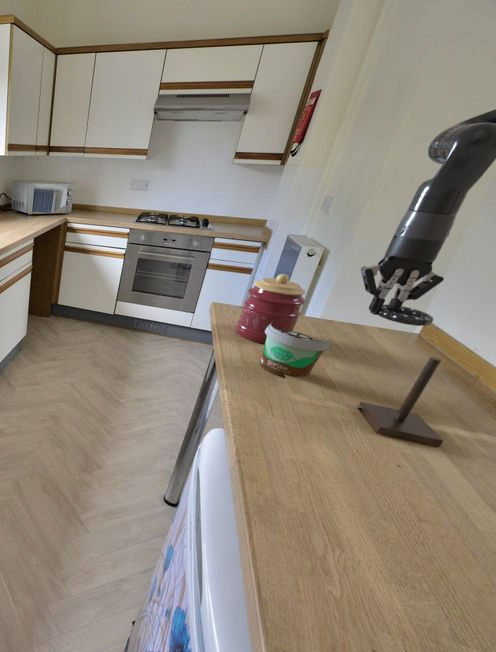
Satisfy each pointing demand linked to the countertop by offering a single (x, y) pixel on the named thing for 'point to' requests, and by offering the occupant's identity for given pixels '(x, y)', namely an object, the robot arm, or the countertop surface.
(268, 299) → the kitchen canister
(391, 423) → the brown peg stand
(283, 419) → the countertop surface
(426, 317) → the dark grey ring
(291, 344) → the food container
